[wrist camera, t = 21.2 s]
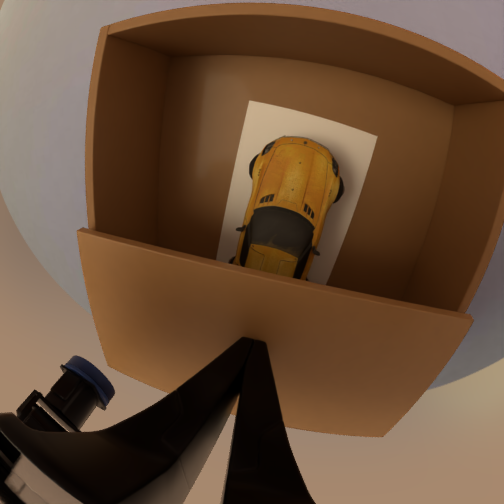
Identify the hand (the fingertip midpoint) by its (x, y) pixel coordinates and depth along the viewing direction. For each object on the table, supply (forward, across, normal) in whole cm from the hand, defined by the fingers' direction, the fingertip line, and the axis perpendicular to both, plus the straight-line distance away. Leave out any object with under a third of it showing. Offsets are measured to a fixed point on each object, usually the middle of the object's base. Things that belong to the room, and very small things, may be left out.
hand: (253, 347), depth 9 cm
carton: (+6, 0, -3) cm, 7 cm away
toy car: (+6, 0, -3) cm, 7 cm away
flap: (0, 0, +1) cm, 1 cm away
